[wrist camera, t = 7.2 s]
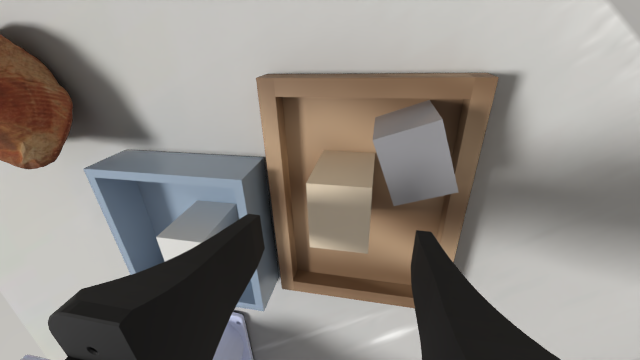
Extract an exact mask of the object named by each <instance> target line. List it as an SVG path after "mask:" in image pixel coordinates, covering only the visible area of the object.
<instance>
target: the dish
mask: <svg viewBox="0 0 640 360" xmlns="http://www.w3.org/2000/svg"><path fill="white" fill-rule="evenodd" d="M84 171H85V174H86V176H87V178H88V180H89V183H90V185H91V187H92V189H93V192H94V194H95V196H96V198H97V201H98V203H99V205H100V207H101V209H102V212H103V214H104V216H105V218H106V221H107V223H108V225H109V227H110V230H111V232H112V234H113V236H114V239H115V241H116V243H117V245H118V248H119V250H120V252H121V254H122V256H123V259H124V261H125V263H126V265H127V268H128V270H129V272H130V274H131V275H132V274H135V273H137V272H140V271H143V270H146V269H148V268H151V267H153V266H155V265H158V264H160V263H163V262H165V261H164V258H163V255H162V253H161V250H160V247H159V244H158V242H157V239H156V237H157V236H158V235H159V234H160V233H161V232H162V231H163V230H165V229H166V228H167V227H168V226H169V225H170V224H171V223H172V222H174V221H175V220H176V219H177V218H178V217H179V216H180V215H181V214H183V213H184V212H185V211H186V210H187V209H188V208H189V207H190V206H192V205H193V204H194V203H195V202H196V201H197V200H198V201H209V202H220V203H231V204H236V208H237V213H238V218H239V219H240V218H242V217H244V216H245V215H247V214H255V215H260V219H261V226H262V232H263V239H264V246H265V249H264V252H263V255H262V257H261V260H260V262H259V265H258V267H257V269H256V271H255V273H254V275H253V276H252V278H251V280H250V282H249V284H248V285H247V287H246V289H245V291H244V292H243V294H242V296H241V298H240V300H239V301H238V303H237V305H236V307H241V308H247V309H253V310H259V311H264V310H265V308H266V306H267V303H268V301H269V299H270V296H271V294H272V292H273V290H274V287H275V285H276V283H277V280H278V278H279V273H278V265H277V257H276V249H275V241H274V234H273V226H272V218H271V210H270V202H269V194H268V186H267V178H266V170H265V163H264V157H250V156H232V155H214V154H195V153H177V152H158V151H140V150H124V151H122V152H120V153H117V154H115V155H113V156H111V157H108V158H106V159H104V160H102V161H99V162H97V163H95V164H93V165H90V166H88V167H86V168H84Z"/></svg>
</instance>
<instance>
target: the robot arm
mask: <svg viewBox="0 0 640 360" xmlns="http://www.w3.org/2000/svg"><path fill="white" fill-rule="evenodd" d="M264 249H265V246H264V239H263V232H262V226H261V219H260V215H255V214H247V215H245V216H244V217H242V218H240V219H239V220H237V221H236V222H234V223H233V224H231V225H229V226H228V227H226V228H225V229H223V230H222V231H220V232H219V233H217V234H216V235H214V236H212V237H211V238H209V239H207V240H206V241H204V242H202V243H200V244H199V245H197V246H195V247H194V248H192V249H190V250H188V251H186V252H184V253H182V254H180V255H178V256H176V257H174V258H172V259H170V260H167V261H165V262H163V263H160V264H158V265H155V266H153V267H151V268H148V269H146V270H143V271H140V272H137V273H135V274H132V275H129V276H126V277H123V278H120V279H116V280H113V281H110V282H106V283H102V284H99V285H95V286H91V287H88V288H84V289H81V290H80V291H79V292H78V293H76V294H75V295H74V296H73V297H72V298H71V299H69V300H68V301H67V302H66V303H65V304H64V305H62V306H61V307H60V308H59V309H58V310H57V311H55V312H54V313H53V314H52V315H51V316H50V317H49V320H48V326H49V330H50V331H51V333H52V335H53V336H54V338H55V339H56V340H57V342H58V343H59V345H60V346H61V347H62V349H63V350H64V352H65V353H66V354H67V356H68V357H67V358H66V359H65V360H253V356H252V351H251V347H250V342H249V338H248V333H247V329H246V324H245V320H244V316H243V315H242V314H240V313H235V312H233V311H234V309H235V307H236V305H237V303H238V301H239V300H240V298H241V296H242V294H243V292H244V291H245V289H246V287H247V285H248V284H249V282H250V280H251V278H252V276H253V275H254V273H255V271H256V269H257V267H258V265H259V262H260V260H261V257H262V255H263V252H264ZM411 287H412V294H413V300H414V306H415V311H416V317H417V323H418V329H419V335H420V342H421V350H422V360H560V359H559V358H558V357H556V356H555V355H553V354H552V353H550V352H549V351H547V350H546V349H545V348H543V347H542V346H541V345H539V344H538V343H537V342H535V341H534V340H533V339H531V338H530V337H529V336H527V335H526V334H525V333H523V332H522V331H521V330H520V329H518V328H517V327H516V326H515V325H513V324H512V323H511V322H510V321H509V320H508V319H506V318H505V317H504V316H503V315H502V314H501V313H500V312H498V311H497V310H496V309H495V308H494V307H493V306H492V305H491V304H490V303H489V302H488V301H487V300H486V299H485V298H484V297H483V296H482V295H481V294H480V293H479V292H478V291H477V290H476V289H475V288H474V287H473V286H472V285H471V284H470V283H469V281H468V280H467V279H466V278H465V277H464V276H463V274H462V273H461V272H460V271H459V270H458V268H457V267H456V266H455V264H454V263H453V262H452V260H451V259H450V258H449V256H448V255H447V254H446V252H445V251H444V250H443V248H442V247H441V245H440V244H439V242H438V241H437V239H436V238H435V236H434V235H433V233H432V232H429V231H419V230H416V234H415V240H414V247H413V253H412V260H411ZM21 360H49V359H45V358H41V357H36V356H32V355H25V356H24V357H23V358H22V359H21Z"/></svg>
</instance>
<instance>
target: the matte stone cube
mask: <svg viewBox="0 0 640 360" xmlns="http://www.w3.org/2000/svg"><path fill="white" fill-rule="evenodd" d="M373 143H374V146H375V149H376V153H377V156H378V159H379V162H380V165H381V168H382V171H383V174H384V177H385V180H386V184H387V187H388V190H389V193H390V196H391V199H392V202H393V205H394V206H397V205H401V204H406V203H411V202H416V201H420V200H425V199H430V198H434V197H439V196H444V195H449V194H453V193H458V187H457V183H456V178H455V174H454V169H453V164H452V160H451V155H450V151H449V146H448V142H447V137H446V132H445V128H444V123H443V119H442V118H441V116H440V115H439V113H438V112H437V110H436V109H435V107H434V106H433V104H432V103H431V101H430V100H427V101H424V102H421V103H418V104H415V105H412V106H409V107H406V108H403V109H400V110H397V111H393V112H390V113H387V114H384V115H381V116H378V117H375V123H374V132H373Z"/></svg>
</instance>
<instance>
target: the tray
mask: <svg viewBox="0 0 640 360" xmlns="http://www.w3.org/2000/svg"><path fill="white" fill-rule="evenodd" d="M498 78H499V77H497V76H494V75H491V74H489V73H370V74H266V75H263V76H260V77H257V78H256V81H257V89H258V97H259V105H260V114H261V122H262V130H263V138H264V146H265V154H266V162H267V170H268V179H269V187H270V195H271V203H272V211H273V219H274V227H275V235H276V243H277V252H278V260H279V268H280V276H281V284H282V289H287V290H294V291H301V292H308V293H314V294H321V295H328V296H335V297H342V298H349V299H355V300H362V301H369V302H376V303H383V304H390V305H396V306H403V307H410V308H415V306H414V300H413V294H412V287H411V260H412V253H413V247H414V240H415V234H416V230H419V231H429V232H432V233H433V235H434V236H435V238H436V239H437V241H438V242H439V244H440V245H441V247H442V248H443V250H444V251H445V252H446V254H447V255H448V256H449V258H450V259H451V260H452V262H454V258H455V254H456V250H457V246H458V242H459V238H460V233H461V229H462V225H463V221H464V217H465V213H466V209H467V205H468V201H469V197H470V193H471V188H472V184H473V180H474V176H475V172H476V168H477V164H478V160H479V156H480V152H481V148H482V144H483V139H484V135H485V131H486V127H487V123H488V119H489V115H490V111H491V107H492V103H493V99H494V94H495V90H496V86H497V82H498ZM427 100H430V101H431V103H432V104H433V106H434V107H435V109H436V110H437V112H438V113H439V115H440V116H441V118H442V119H443V123H444V128H445V132H446V137H447V142H448V146H449V151H450V155H451V160H452V164H453V169H454V174H455V178H456V183H457V187H458V193H453V194H449V195H444V196H439V197H434V198H430V199H425V200H420V201H416V202H411V203H406V204H401V205H397V206H394V205H393V202H392V199H391V196H390V193H389V190H388V187H387V184H386V180H385V177H384V174H383V171H382V168H381V165H380V162H379V159H378V156H377V153H376V149H375V146H374V143H373V132H374V123H375V117H378V116H381V115H384V114H387V113H390V112H393V111H397V110H400V109H403V108H406V107H409V106H412V105H415V104H418V103H421V102H424V101H427ZM323 150H324V151H345V152H366V153H375V163H374V178H373V193H372V209H371V222H370V235H369V247H368V254H366V253H357V252H348V251H340V250H331V249H322V248H313V247H310V243H309V225H308V207H307V189H306V183H307V181H308V179H309V177H310V175H311V173H312V171H313V169H314V168H315V166H316V164H317V162H318V160H319V158H320V156H321V154H322V152H323Z"/></svg>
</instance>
